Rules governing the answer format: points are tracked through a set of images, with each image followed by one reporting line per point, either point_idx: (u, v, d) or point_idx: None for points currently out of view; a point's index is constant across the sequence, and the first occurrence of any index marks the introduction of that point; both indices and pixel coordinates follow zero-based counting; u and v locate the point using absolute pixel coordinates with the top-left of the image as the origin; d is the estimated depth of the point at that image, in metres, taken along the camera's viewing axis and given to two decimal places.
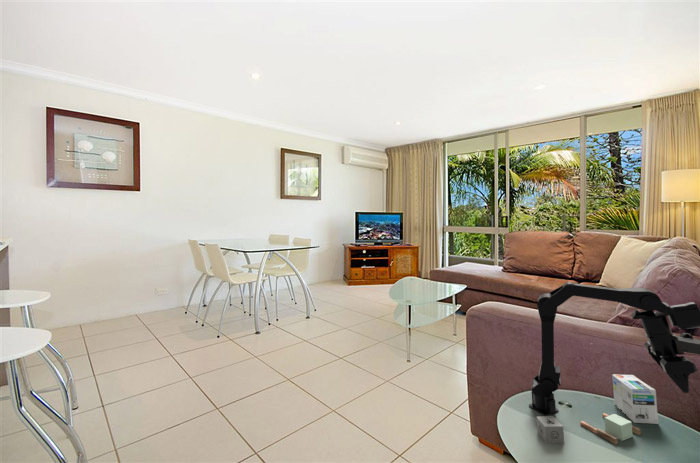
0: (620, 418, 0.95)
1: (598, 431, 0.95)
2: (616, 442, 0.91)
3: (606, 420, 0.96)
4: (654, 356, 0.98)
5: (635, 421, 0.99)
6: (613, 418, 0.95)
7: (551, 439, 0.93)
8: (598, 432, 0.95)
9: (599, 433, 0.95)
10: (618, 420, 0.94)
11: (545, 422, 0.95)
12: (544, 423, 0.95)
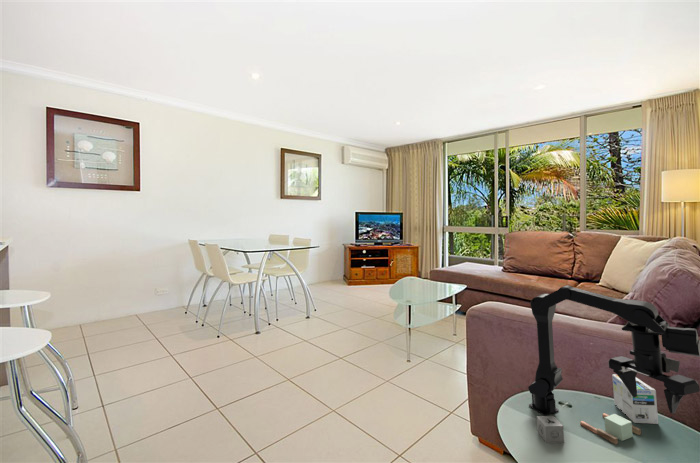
0: (620, 418, 0.95)
1: (598, 431, 0.95)
2: (616, 442, 0.91)
3: (606, 420, 0.96)
4: (624, 374, 0.93)
5: (635, 421, 0.99)
6: (613, 418, 0.95)
7: (551, 439, 0.93)
8: (598, 432, 0.95)
9: (599, 433, 0.95)
10: (618, 420, 0.94)
11: (545, 422, 0.95)
12: (544, 423, 0.95)
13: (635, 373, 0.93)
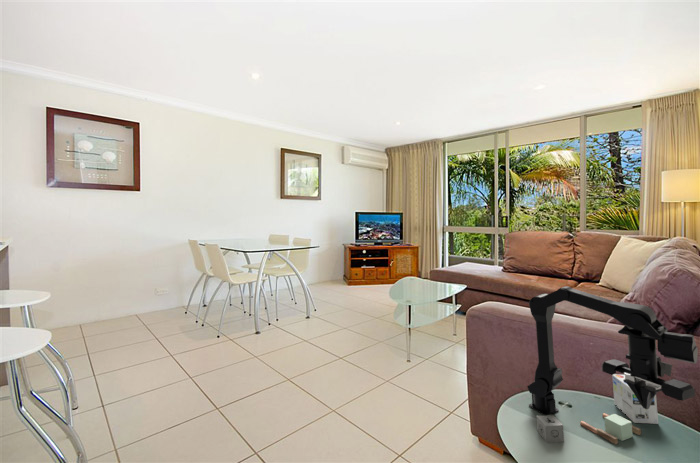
0: (620, 418, 0.95)
1: (598, 431, 0.95)
2: (616, 442, 0.91)
3: (606, 420, 0.96)
4: (636, 385, 0.88)
5: (635, 421, 0.99)
6: (613, 418, 0.95)
7: (551, 438, 0.93)
8: (598, 432, 0.95)
9: (599, 433, 0.95)
10: (618, 420, 0.94)
11: (545, 421, 0.95)
12: (544, 422, 0.95)
13: (645, 383, 0.89)
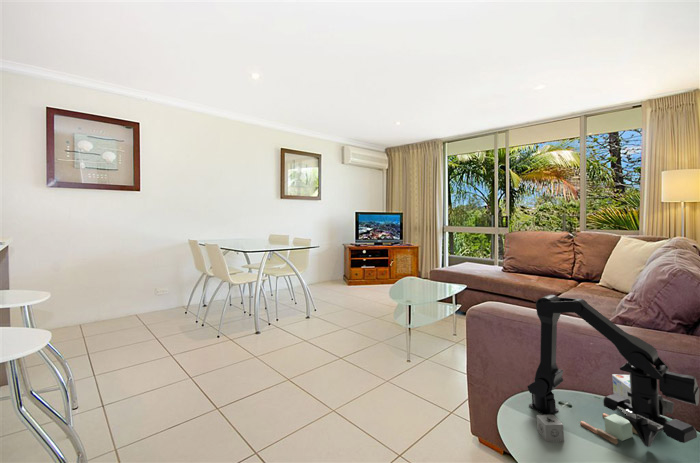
0: (620, 418, 0.95)
1: (598, 431, 0.95)
2: (616, 442, 0.91)
3: (606, 420, 0.96)
4: (637, 422, 0.88)
5: None
6: (613, 418, 0.95)
7: (551, 437, 0.94)
8: (598, 432, 0.95)
9: (599, 433, 0.95)
10: (618, 420, 0.94)
11: (545, 420, 0.96)
12: (544, 421, 0.95)
13: None
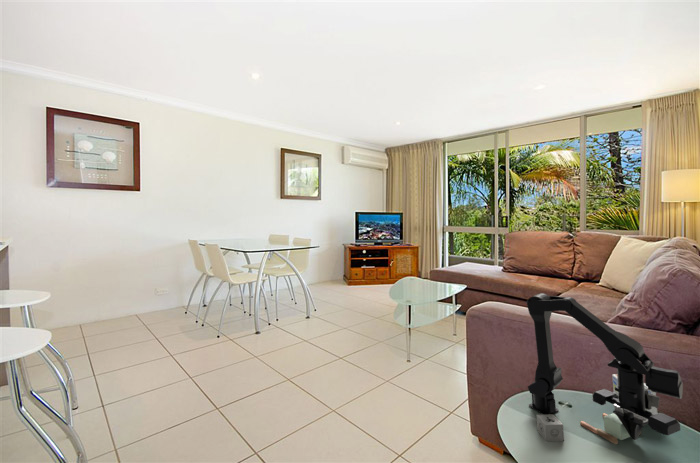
0: None
1: (598, 431, 0.95)
2: (616, 442, 0.91)
3: (605, 419, 0.96)
4: (624, 417, 0.91)
5: None
6: (612, 417, 0.96)
7: (551, 437, 0.94)
8: (598, 432, 0.95)
9: (599, 433, 0.95)
10: (617, 419, 0.94)
11: (545, 420, 0.96)
12: (544, 421, 0.95)
13: None
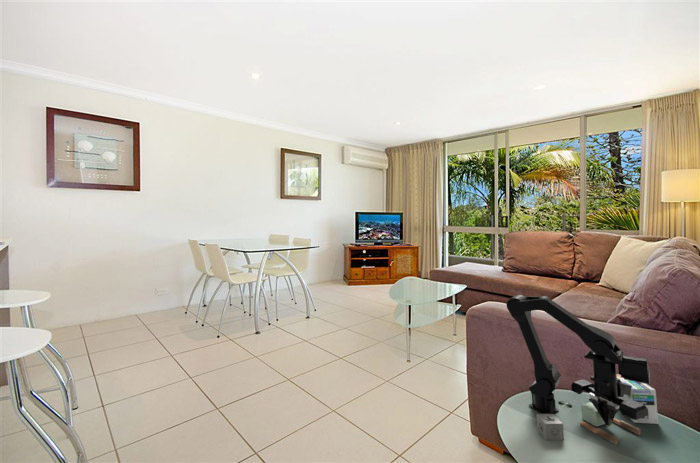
0: None
1: (598, 431, 0.95)
2: (616, 442, 0.91)
3: (582, 407, 1.02)
4: (599, 404, 0.97)
5: (635, 421, 0.99)
6: (589, 406, 1.02)
7: (551, 436, 0.94)
8: (598, 432, 0.95)
9: (599, 433, 0.95)
10: (593, 407, 1.01)
11: (545, 419, 0.96)
12: (544, 420, 0.96)
13: None
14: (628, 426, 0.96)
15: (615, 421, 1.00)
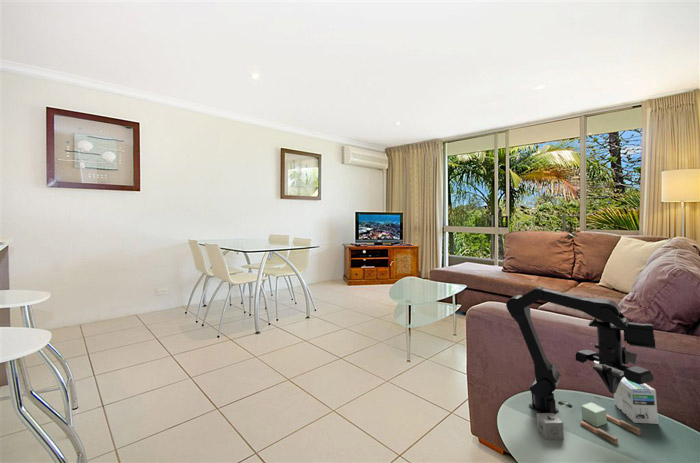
0: (596, 406, 1.02)
1: (598, 431, 0.95)
2: (616, 442, 0.91)
3: (583, 408, 1.02)
4: (603, 371, 0.97)
5: (635, 421, 0.99)
6: (589, 406, 1.02)
7: (551, 435, 0.95)
8: (598, 432, 0.95)
9: (599, 433, 0.95)
10: (594, 408, 1.01)
11: (545, 419, 0.97)
12: (544, 420, 0.96)
13: None
14: (628, 426, 0.96)
15: (615, 421, 1.00)
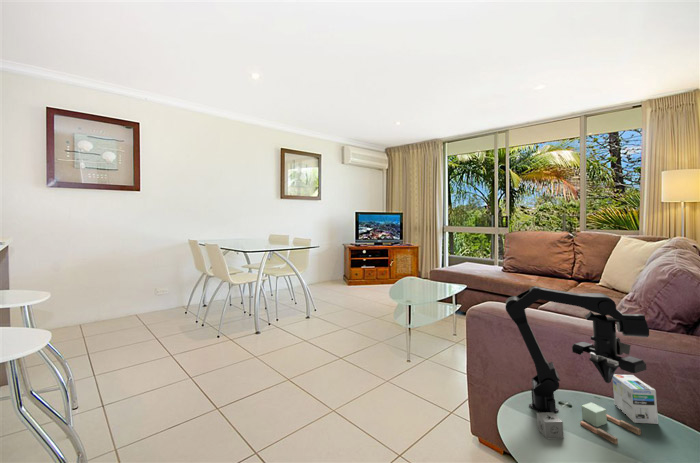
0: (596, 406, 1.02)
1: (598, 431, 0.95)
2: (616, 442, 0.91)
3: (583, 408, 1.02)
4: (599, 362, 1.01)
5: (635, 421, 0.99)
6: (589, 406, 1.02)
7: (551, 434, 0.95)
8: (598, 432, 0.95)
9: (599, 433, 0.95)
10: (594, 408, 1.01)
11: (545, 418, 0.97)
12: (544, 419, 0.97)
13: None
14: (628, 426, 0.96)
15: (615, 421, 1.00)
